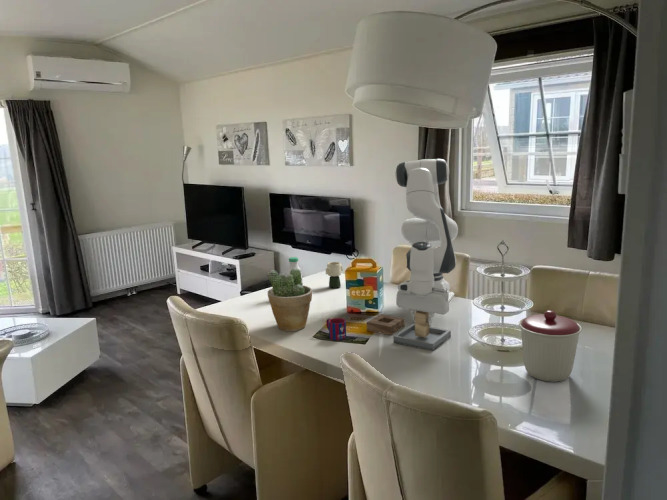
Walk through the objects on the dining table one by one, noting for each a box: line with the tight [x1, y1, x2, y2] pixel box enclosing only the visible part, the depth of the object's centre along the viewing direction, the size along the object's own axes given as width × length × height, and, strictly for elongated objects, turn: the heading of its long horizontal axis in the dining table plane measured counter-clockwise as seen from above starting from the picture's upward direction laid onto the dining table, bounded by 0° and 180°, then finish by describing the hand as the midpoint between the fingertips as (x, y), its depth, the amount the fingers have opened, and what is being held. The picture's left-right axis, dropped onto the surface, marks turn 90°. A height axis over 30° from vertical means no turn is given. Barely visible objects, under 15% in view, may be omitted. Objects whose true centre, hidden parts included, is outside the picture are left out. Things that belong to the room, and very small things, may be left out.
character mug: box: [325, 261, 343, 288], centre depth 274 cm, size 11×7×13 cm, turn 128°
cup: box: [325, 317, 347, 341], centre depth 205 cm, size 7×10×7 cm
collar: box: [366, 313, 406, 336], centre depth 211 cm, size 11×11×4 cm
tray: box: [392, 323, 452, 352], centre depth 198 cm, size 16×16×2 cm
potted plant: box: [266, 268, 313, 332], centre depth 216 cm, size 18×19×25 cm
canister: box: [518, 309, 583, 383], centre depth 163 cm, size 18×18×21 cm
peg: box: [414, 310, 430, 337], centre depth 197 cm, size 4×4×9 cm
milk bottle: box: [286, 256, 303, 284], centre depth 258 cm, size 8×8×20 cm
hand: (422, 321), depth 197 cm, fingers closed on peg, 4 cm apart
